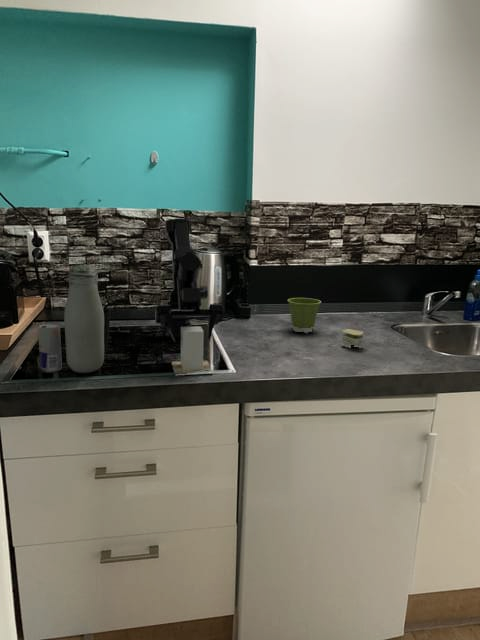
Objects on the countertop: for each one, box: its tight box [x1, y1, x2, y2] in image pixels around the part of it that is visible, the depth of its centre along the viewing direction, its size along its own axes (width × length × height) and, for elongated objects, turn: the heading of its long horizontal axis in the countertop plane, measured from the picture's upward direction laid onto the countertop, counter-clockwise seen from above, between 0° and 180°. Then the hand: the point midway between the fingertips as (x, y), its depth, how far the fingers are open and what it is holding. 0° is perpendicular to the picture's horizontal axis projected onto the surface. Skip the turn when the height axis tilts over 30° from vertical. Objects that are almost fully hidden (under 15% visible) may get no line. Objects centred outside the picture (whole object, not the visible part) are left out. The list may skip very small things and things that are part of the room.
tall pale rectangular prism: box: [180, 325, 205, 370], centre depth 140 cm, size 5×5×11 cm
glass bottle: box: [63, 265, 105, 374], centre depth 134 cm, size 10×10×28 cm
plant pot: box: [287, 297, 322, 328], centre depth 184 cm, size 12×12×11 cm
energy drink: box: [37, 323, 63, 374], centre depth 137 cm, size 5×5×12 cm
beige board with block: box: [171, 359, 213, 376], centre depth 141 cm, size 10×10×4 cm
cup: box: [103, 308, 111, 353], centre depth 155 cm, size 8×8×12 cm
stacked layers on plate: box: [341, 328, 364, 345], centre depth 167 cm, size 10×9×6 cm
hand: (192, 340), depth 139 cm, fingers open, 9 cm apart
